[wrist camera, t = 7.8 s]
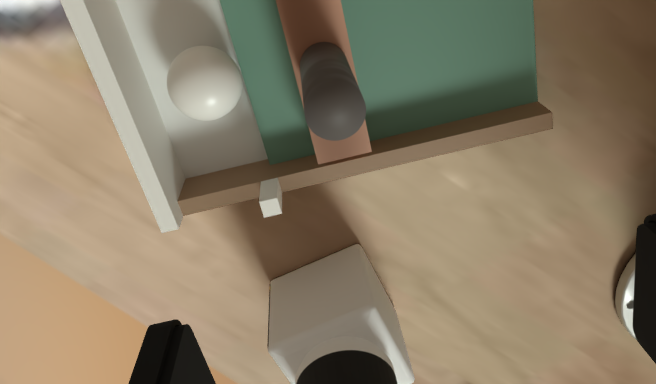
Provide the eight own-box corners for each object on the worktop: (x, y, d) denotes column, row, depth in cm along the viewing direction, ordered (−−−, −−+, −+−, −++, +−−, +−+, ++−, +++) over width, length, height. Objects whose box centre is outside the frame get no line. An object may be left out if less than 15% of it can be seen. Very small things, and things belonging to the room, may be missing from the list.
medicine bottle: (268, 279, 39) (262, 418, 28) (359, 240, 38) (388, 368, 27) (311, 346, 42) (321, 493, 32) (396, 311, 41) (436, 451, 31)
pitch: (514, -146, 28) (568, -159, 23) (528, 108, 34) (573, 145, 29) (84, -36, 29) (40, -23, 24) (177, 192, 35) (158, 242, 30)
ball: (153, 52, 30) (223, 31, 31) (178, 119, 32) (243, 98, 33) (157, 65, 27) (235, 42, 27) (185, 139, 29) (257, 115, 29)
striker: (325, -56, 28) (345, -39, 19) (364, 132, 32) (395, 215, 24) (267, -41, 28) (260, -18, 19) (315, 143, 33) (327, 231, 24)
